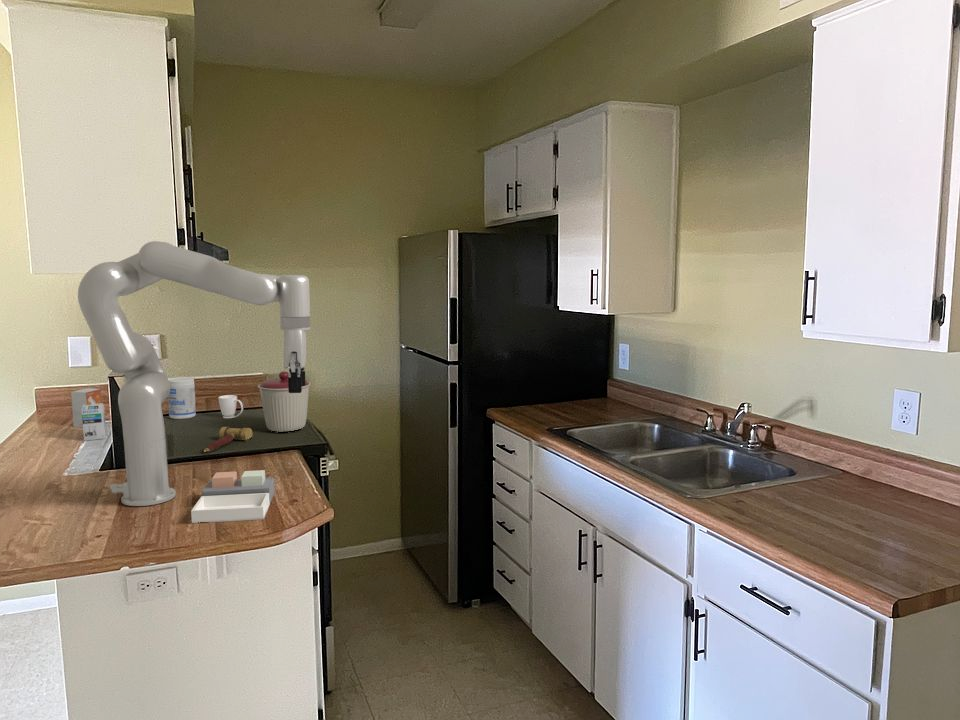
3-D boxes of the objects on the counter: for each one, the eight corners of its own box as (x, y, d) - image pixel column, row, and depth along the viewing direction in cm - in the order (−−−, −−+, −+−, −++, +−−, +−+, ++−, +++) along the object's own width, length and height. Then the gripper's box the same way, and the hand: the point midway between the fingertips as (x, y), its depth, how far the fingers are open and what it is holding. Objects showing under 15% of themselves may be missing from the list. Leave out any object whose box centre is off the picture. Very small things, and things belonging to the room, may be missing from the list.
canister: (289, 438, 245) (286, 377, 242) (248, 432, 252) (245, 373, 250) (322, 426, 261) (320, 369, 258) (283, 422, 269) (281, 366, 266)
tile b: (241, 486, 179) (241, 476, 179) (245, 480, 184) (244, 471, 184) (262, 485, 180) (262, 475, 180) (265, 479, 185) (264, 470, 185)
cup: (227, 414, 282) (225, 394, 281) (248, 416, 279) (247, 395, 278) (215, 418, 276) (214, 397, 274) (237, 420, 272) (236, 399, 271)
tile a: (212, 487, 178) (211, 478, 178) (216, 481, 183) (216, 472, 183) (233, 486, 179) (232, 477, 179) (237, 480, 184) (236, 471, 184)
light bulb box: (105, 439, 244) (103, 408, 243) (83, 441, 241) (80, 409, 240) (106, 432, 254) (104, 402, 252) (84, 434, 251) (82, 404, 250)
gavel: (217, 446, 223) (188, 444, 225) (218, 460, 224) (190, 458, 226) (252, 426, 243) (225, 425, 245) (253, 439, 244) (226, 437, 246)
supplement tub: (166, 420, 273) (164, 381, 271) (172, 414, 282) (170, 377, 280) (193, 419, 275) (191, 381, 273) (198, 413, 284) (196, 377, 282)
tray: (191, 523, 165) (191, 510, 165) (202, 508, 176) (201, 496, 175) (263, 519, 168) (263, 507, 167) (269, 504, 178) (269, 492, 178)
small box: (88, 427, 261) (85, 392, 260) (73, 426, 262) (70, 391, 261) (104, 422, 269) (101, 388, 267) (89, 422, 270) (86, 387, 269)
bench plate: (202, 507, 176) (201, 491, 176) (210, 495, 185) (209, 480, 185) (270, 503, 179) (269, 488, 178) (274, 492, 187) (274, 477, 187)
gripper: (284, 320, 192) (286, 384, 194) (275, 326, 175) (277, 395, 177) (313, 320, 193) (314, 383, 195) (307, 326, 176) (309, 395, 178)
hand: (297, 389), depth 186 cm, fingers open, 9 cm apart
